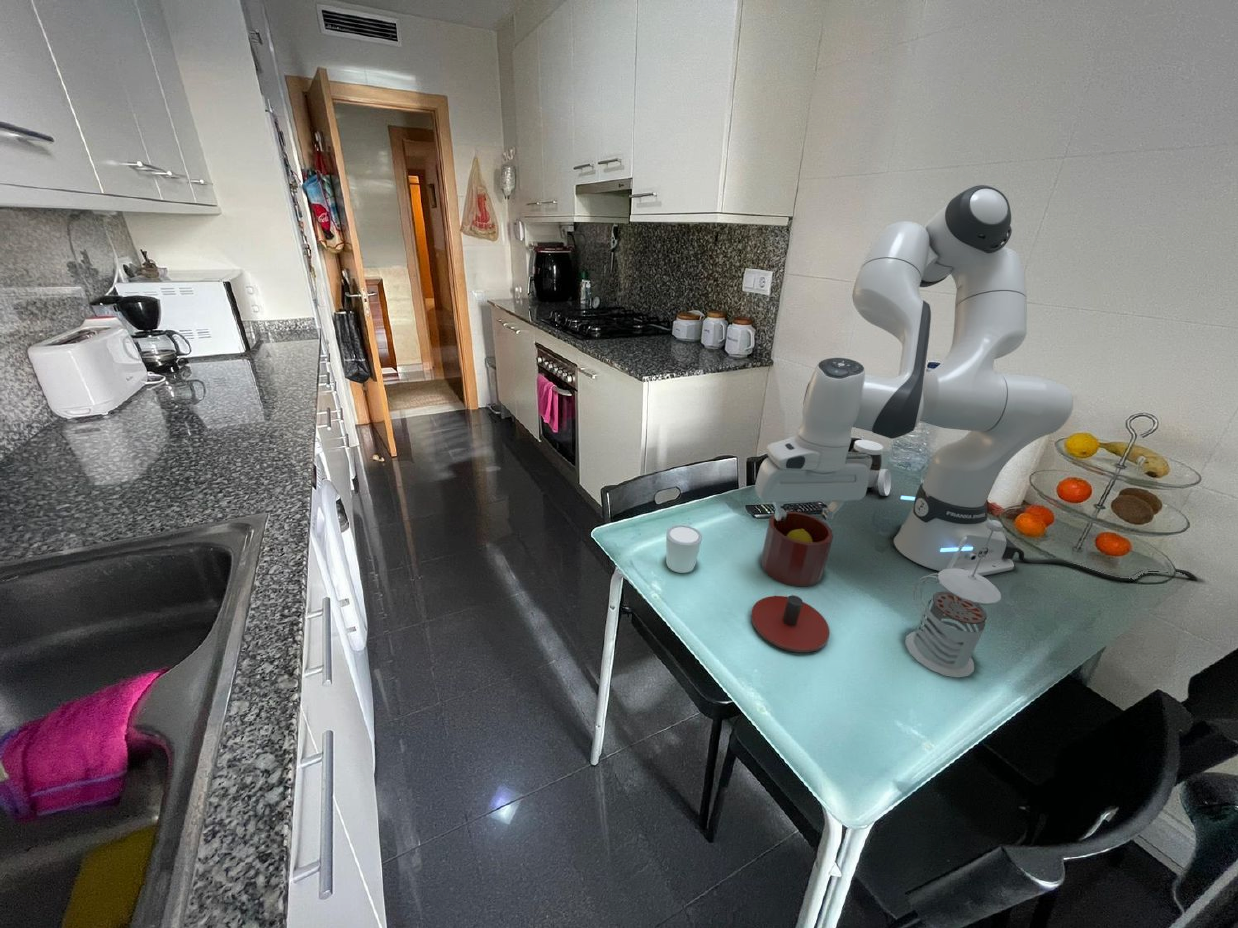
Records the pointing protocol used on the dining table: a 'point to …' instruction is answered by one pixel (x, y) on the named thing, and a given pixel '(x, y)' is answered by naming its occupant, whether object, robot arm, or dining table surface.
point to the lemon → (800, 535)
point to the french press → (960, 603)
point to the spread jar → (875, 466)
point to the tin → (796, 550)
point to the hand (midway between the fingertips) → (803, 518)
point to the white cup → (682, 548)
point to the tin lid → (790, 623)
